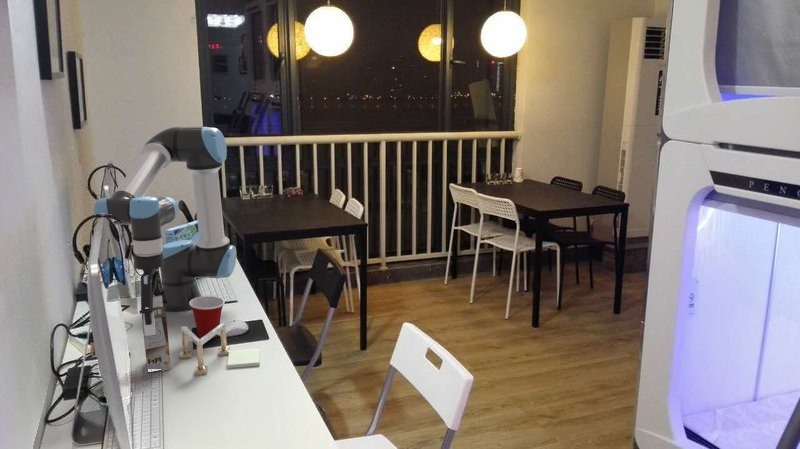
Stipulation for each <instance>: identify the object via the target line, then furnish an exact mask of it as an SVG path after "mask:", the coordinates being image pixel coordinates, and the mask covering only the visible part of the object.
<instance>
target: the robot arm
mask: <svg viewBox="0 0 800 449" xmlns="http://www.w3.org/2000/svg"><path fill="white" fill-rule="evenodd" d="M227 152H228V149H227V142H226V139H225V136H224V135H223V132H222V131H221V130H219V129H218V128H216V127H210V126H209V127H208V126H185V127H184V126H180V127H179V126H173V127H169V128H167V129H164V130H161V131H160V132H158V133H156V134H154V136H152V137H151V138H150V139H149V140H148V141H146V143H145V144H144V145H143V147H142V148H141V151H140V157H139V158H138V159H137V161H136V162H135V164H133V166H132V168H131V169H130V170H129V171H128V173H127V174H126V176H125V177H124V179H123V180H122V181H121V183H120V184H119V185H118V187H117V188H116V190H115V191H114V192H113V193H112V195H111V196H110V197H109V198H108V197H105V198H99V199H97V200H96V201H95V203H94V208H93V212H94V213H93V214H94V216H95V215H96V214H100V213H106V214H112V215H113V216H115V217H117V218H118V219H119V220H120V222H121V223H119V222H118V221H114V222H113V223H114V225H116V226H117V225H125V226H126V225H130V226H131V228H130V229H131V235H132V236H131V238H132V241H131V242H130V246H133V250H132V251H133V254H134V255H133V262H134V268H135V269H137V270H138V271H139V270H141V271H143V273H142V274H141V276H140V310H139V311H138V312H139V314H141V315H142V313H143V321H144V333H145V336H147V335H155V334H156V331H155V320H154V311H153V308H156V307H165V312H167V311H168V312H178V311H179V312H180V311H186V310H192V308H191V306H190V304H189V302H190V301H191V300H192V299H194V298H197V297H202V296H203V295H202V294H201V291H200V289H199V287H198V285H197V282H196V279H195V278H198V279H200V278H208V279H209V278H210V279H223V278H224V279H225V278H229V277H230V276H231V275H232V274H233V272H234V270H235V268H236V262H237V248H236V246H235V245H232V244H230V242H231V241H230V238H229V237H227V236H225V235H226V234H225V227H224V217H223V208H222V207H223V206H222V198H221V185H220V178H219V170H220V169H221V168H222V166H223V162H224V163H225V161H226V160H227V158H228V157H227V156H228V154H227ZM175 162H176V163H177V162H181V163H184V162H185V164H186V169H187V170H188V171H189V172H191V175H192V183H193V192H194V200H195V209H196V210H195V212H196V219H197V220H196V221H198V230H199V239H198V240H197V241H196V245H193V242H192V241H191V240H180V241H175V242H171V243H167V244H166V243H165V244H163V237H162V227H163V226H165V225H167V224H169V223H172V222H173V221H174V220H175V219H176V218H177V217H178V215H179V211H180V209H179V205H178V202H177V201H176V200H175V199H174V198H172V197H169V196H160V197H156V196H149V195H148V196H145V195H146V194H147V193H148V191H149V189H150V188H152V187H151V186H152V185H153V184H154V182H155V181H156V179H157V178H158V176H159V174H160V173H161V172H162V170H163V169H165V168H167V167H168V166H170V164H171V163H175ZM114 225H113V226H114Z"/></svg>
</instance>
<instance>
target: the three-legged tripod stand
mask: <svg viewBox="0 0 800 449" xmlns="http://www.w3.org/2000/svg"><path fill="white" fill-rule="evenodd" d="M180 329H181V331H180V332H181V343H182V345H181V347H182V350H181V351H180V354H179V359H190V358H192V355H193V349H190V350H189V340H190V341H192V342H193V344H195V345H196V358H197V366H195V369H194V375H195V376H198V375H199V376H200V375H201V376H202V375H207V374H208V371H209V367H208V366H209V365H205V360H204V349H203V345H204V344H205V343H207V342H208V341H211V340H212V339H211V338H212V337H213V336H215V335H216V334H217V333H220V336H219V337H220V347H219V348H218V351H217V353H218V354H217V355H218V356H229V351H231V347H228V343H227V332H226V331H227V330H226V323H221V322H220V325H219V326H217V327H216V328H214V329H213V330H212V331H210V332H209V333H208V334H206V335H205V336H204V337H202V338H200V337H199V336H197V335H196V334H195V333H193V331H191V330H190V329H189V327H188V326H186V325H184V326H181V328H180Z"/></svg>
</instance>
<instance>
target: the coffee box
mask: <svg viewBox="0 0 800 449" xmlns="http://www.w3.org/2000/svg"><path fill="white" fill-rule="evenodd" d="M153 311H154V320H155V331H156V334H155V335H147V336H145V333H144V321H143V313H142V314H141V318H142V319H141V322H142V332H143V342H144V352H145V353H144V354H145V361H146V370H147V369H161V371H160V372H164V371H169V370H171V355H170V354H171V353H170V345H169V344H170V342H169V331H168V330H169V328H168V320H167V313H166V312H167V311H166V310H165V307H156V308H153Z"/></svg>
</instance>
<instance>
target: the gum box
mask: <svg viewBox="0 0 800 449" xmlns="http://www.w3.org/2000/svg"><path fill="white" fill-rule="evenodd" d="M164 235H165V237H164V238H165V244H167V243H171V242H175V241H180V240H191V241H192V242H193V245H196V241H197V240H198V239H199V230H198V221H197V220H194V221H191V222H188V223H187V222H186V223H183V224H181V225H177V226H174V227H171V228H167V229H165V230H164Z"/></svg>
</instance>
